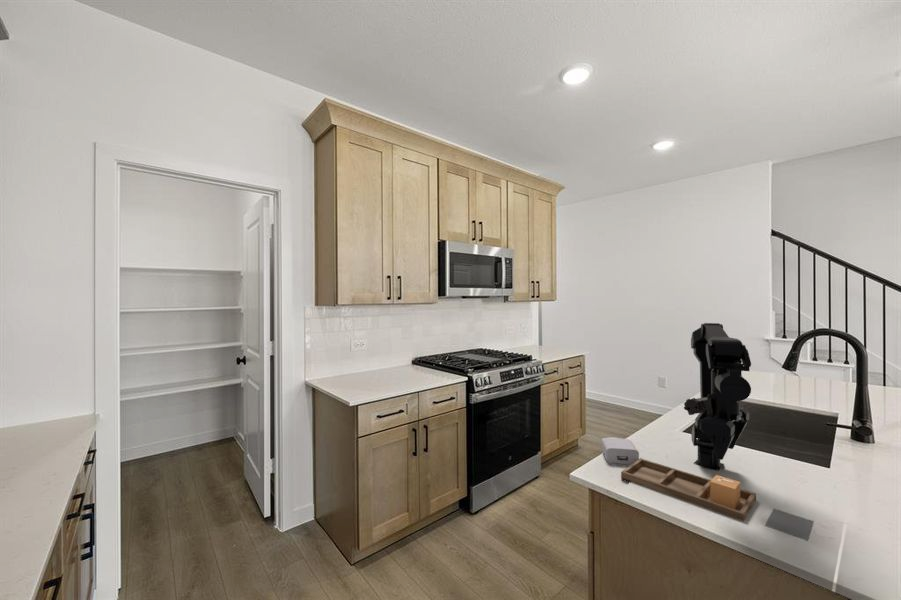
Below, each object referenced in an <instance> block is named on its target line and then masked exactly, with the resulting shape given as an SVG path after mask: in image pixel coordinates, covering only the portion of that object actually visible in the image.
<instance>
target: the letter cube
mask: <svg viewBox="0 0 901 600" xmlns="http://www.w3.org/2000/svg"><path fill="white" fill-rule="evenodd" d="M710 480H711V481H710V501H712V502H715V503H718V504H721V505H723V506H726V507H729V508H732V509H736V508H737V506H738V505H739V503H740V489H741V481H739V480H735V479H732V478H728V477H724V476H722V475H718V474H716V475H715V476H714V477H713V478H712V479H710Z"/></svg>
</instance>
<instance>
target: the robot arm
mask: <svg viewBox="0 0 901 600" xmlns="http://www.w3.org/2000/svg"><path fill="white" fill-rule="evenodd" d="M690 348H691V349H692V350H693V355H694V357H695V358H696V360H697V361H698V363H699V380H700V381H699V385H700V386H699V387H700V389H699V390H700V398H695V397H693V398H688V399H686V401H685V402H684V403H683V405H684V407H683V409H684V410H685V411H687V413H688V415H690V416H692V415H696V414H697V416H696V418H695V419H694V424H692V425H693V426H692V428H691V429H692V430H691V442H692V444H693V447H694V446H695V447H697V459H696V460H695V461H694V462H693V465H696V466H699V467H702V468H706V469H709V470H713V471H716V472H718V471H720V470H722V469H723V468H724V467H725V463H721V460H722V461H723V460H724V458H725V455H726V453H727V451H728V449H730V450H733V449H734V447H735V445H736V444H737V443H738V440H739V439H740V436H741V435H742V433H743V432H744V430H745V427H746V426H747V424H748V423H749V420H750V411H749V410H748V409H747V408H746V407H744V406H741V401H744V400H746V399H748V398H749V397H750V395H751V394H752V387H751V384H750V382H748V380H747V379H745V378H744V377H743V376H742V374H743V373H742V372H751V371H750V368H751V366H752V361H751V358H750V354H749V350H748V349H747V347H746V345H745V344H743V342H742V340H740V339H738V338H734V337H729V335H728V334H727V333H726V331H725V330H724V326H723V324H722V323H721V324H720V323H719V322H718V323H716V322H715V323H713V322H704V323H701V324H700V327H699V328H697V329H696V330H695V329H694V331H692V334H691V339H690ZM741 418H742V419H741Z"/></svg>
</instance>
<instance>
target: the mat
mask: <svg viewBox="0 0 901 600" xmlns="http://www.w3.org/2000/svg"><path fill="white" fill-rule="evenodd" d="M814 522H815V521H814V520H811V519H808V518H805V517H802V516H798V515H796V514H792V513H789V512H786V511H784V510H780V509H776V508H773V509H772V511H771V513H770V515H769V516H768V519H767V520H766V523H765V524H764V527H766V528H767V527H768V528H771V529H773V530H777V531H779V532H781V533H784V534H787V535H790V536H792V537H796V538H799V539H802V540H804V541H806V542H808V541H809V539H810V535H811V533H812V532H811V531H812V529H813V527H814V526H813V525H814Z"/></svg>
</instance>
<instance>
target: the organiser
mask: <svg viewBox="0 0 901 600" xmlns="http://www.w3.org/2000/svg"><path fill="white" fill-rule="evenodd" d="M620 473H621V474H620V477H621V479H622V480H621V479H620V480H621V481H624V480H625V481H624V482H627V481H628V483H629V482H630V483H632V482H633V483H635V484H638V485H640V486H644V487H647V488H648V489H649V488H650V489H653V490H655V491H657V492H660V493H663V494H667V495H669V496H672V497H675V498H678V499H680V500H683V501H685V502H689V503H691V504H694V505H697V506H699V507H702V508H705V509H709V510H711V511H714V512H717V513H719V514H722V515H725V516H728V517H731V518H733V519H736V520H739V521H742V522H744V521H745V519H746V518H747V516H748V514H749V513H750V511H751V510H752V508H753V506H754V505H755V503H756V501H757V493H755V492H751V491H748V490H745V489H741V488H740V503H739V505H738V506H737V508H736V509H732V508H729V507H726V506H723V505H721V504H718V503H715V502H712V501H710V481H711V480H712V479H708V478H706V477H702V476H699V475H695V474H693V473H690V472H686V471H684V470H680V469H677V468H674V467H670V466H666V465H663V464H660V463H657V462H654V461H651V460H647V459H645V458H640V457H639V460H637V461H636V462H635V463H633V464H629V466H628V467H625V468H624V469H623V470H621V472H620Z"/></svg>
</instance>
